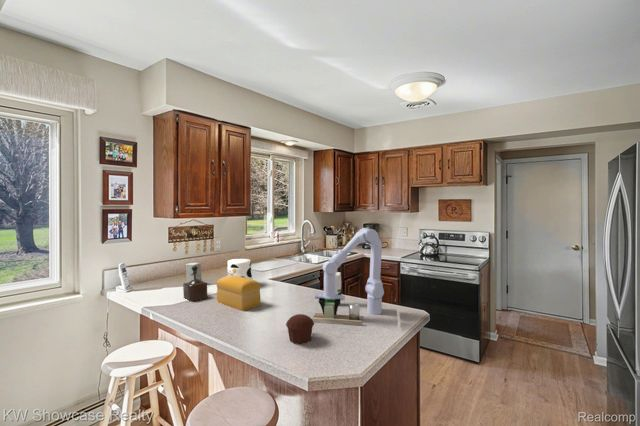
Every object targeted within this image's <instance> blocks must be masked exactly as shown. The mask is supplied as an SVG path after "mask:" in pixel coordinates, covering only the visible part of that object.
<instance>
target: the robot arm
mask: <svg viewBox="0 0 640 426" xmlns="http://www.w3.org/2000/svg"><path fill="white" fill-rule="evenodd" d="M365 243H367V244H368V245H369V246H370V259H369V260H370V261H369V276H368V278H367V282H366V285H365V287H364V289H365V292H366V293H367V298H366V299H367V300H366V303H367V305H366V306H367V307H366V308H367V310H366V312H367V314H369V315H373V316H378V315H381V314H382V313H383V311H382V310H383V309H382V308H383V307H382V306H383V303H382V302H383V300H382V299H383V296H384V294H385V291H384V287H383V286H384V284H383V281H382V279H381V272H382V271H381V270H382V269H381V267H382V251H383V250H382V248H383V243H382V241H381V238H380V236H379V233H378V231H376V230H375V229H374V228H367V227H362V228H360V229H359V230H358V231H356V233H355V235H354V236H353V237H352V238H351V239H350V240H349V241H348V243H347V244H346V245H345V246H344V247H343V248H342V249H338V250H335V251H334V254H333V255H332V256H331V257H330V258H328V261H325V262H324V263H323V264H322V266H321V268H322V270H323V271H322V272H323V293H315V294H314V300H317V299H318V304H319V305H320V307H321V310H322V314H324V306H325V299H332V300H335V301H334V304H335V315H336V314H337V313H338V309H339V306H340V304H341V301H343V302H344V301H346V300H345V299H346V295H344V294H341V295H337V294H336V277H335V273H336V272H338V268H339V267H340V266H341V265H342V264H343V263H344V262H345V261H346V260H347V259H348V254H349V253H350V252H352V250H354V249H355V248H356V247H358V245H359V244H365ZM339 303H340V304H339ZM338 305H339V306H338ZM337 315H338V314H337Z"/></svg>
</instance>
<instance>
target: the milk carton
mask: <svg viewBox="0 0 640 426" xmlns="http://www.w3.org/2000/svg"><path fill="white" fill-rule="evenodd" d="M341 272H342V271H341ZM341 272H339V271H337V272H336V273H335V277H336V294H337V295H342V275H341V274H342V273H341ZM334 301H335V300H332V299H325V304H326V303H334ZM340 305H341V302H340V303H339V305H338V307H339V306H340Z"/></svg>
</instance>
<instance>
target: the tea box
mask: <svg viewBox="0 0 640 426" xmlns="http://www.w3.org/2000/svg"><path fill="white" fill-rule="evenodd" d="M334 317H335V304H334V303H326V304H325V306H324V318H332V319H334Z"/></svg>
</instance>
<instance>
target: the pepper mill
mask: <svg viewBox="0 0 640 426" xmlns="http://www.w3.org/2000/svg"><path fill="white" fill-rule="evenodd" d="M191 269H192V270H193V274H191V276H192V275H194V280H192V281H190V282H188V283H187V282H185V283H183V284H182V285H183V287H182V288H183V289H182V290H183V299H184V298H185V299H187V300H189V301H188V302H190V301H193V302H196V300H198V301H201V300H200V299H202V300H205V299H204V298H206V299H208V298H207V297H208V283H207V282H205V281H204V280H201V278H202V277H201V278H200V280H198V279H196V273H197V269H198V267H197V266H193V267H192V268H191ZM185 299H184V300H185ZM187 300H186V301H187Z"/></svg>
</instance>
